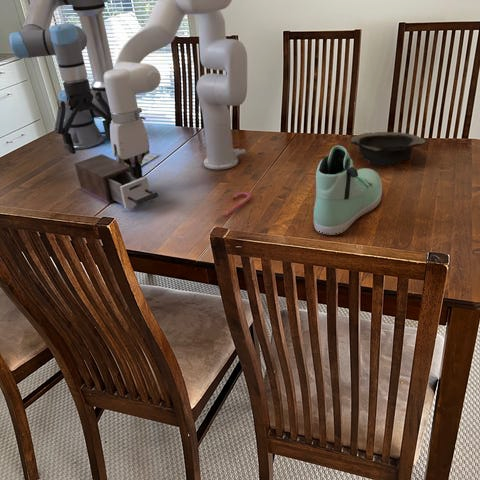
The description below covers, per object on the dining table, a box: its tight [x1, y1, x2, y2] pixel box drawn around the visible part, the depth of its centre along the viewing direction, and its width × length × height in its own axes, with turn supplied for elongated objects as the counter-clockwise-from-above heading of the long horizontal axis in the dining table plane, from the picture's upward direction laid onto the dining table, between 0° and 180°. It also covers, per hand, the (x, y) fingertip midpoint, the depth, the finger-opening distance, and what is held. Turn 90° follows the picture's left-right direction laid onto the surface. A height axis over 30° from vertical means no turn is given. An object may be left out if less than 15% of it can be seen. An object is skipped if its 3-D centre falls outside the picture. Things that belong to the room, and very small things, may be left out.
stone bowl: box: [350, 131, 426, 169], centre depth 166 cm, size 25×25×9 cm
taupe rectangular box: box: [74, 154, 131, 205], centre depth 159 cm, size 18×10×9 cm, turn 44°
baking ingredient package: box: [125, 153, 159, 167], centre depth 182 cm, size 9×1×15 cm
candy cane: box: [223, 191, 253, 218], centre depth 145 cm, size 6×15×2 cm, turn 145°
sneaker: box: [313, 145, 383, 236], centre depth 133 cm, size 14×35×20 cm, turn 152°
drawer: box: [106, 171, 159, 211], centre depth 150 cm, size 23×9×7 cm, turn 44°
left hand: (91, 146), depth 156 cm, fingers open, 13 cm apart
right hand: (137, 177), depth 142 cm, fingers closed
